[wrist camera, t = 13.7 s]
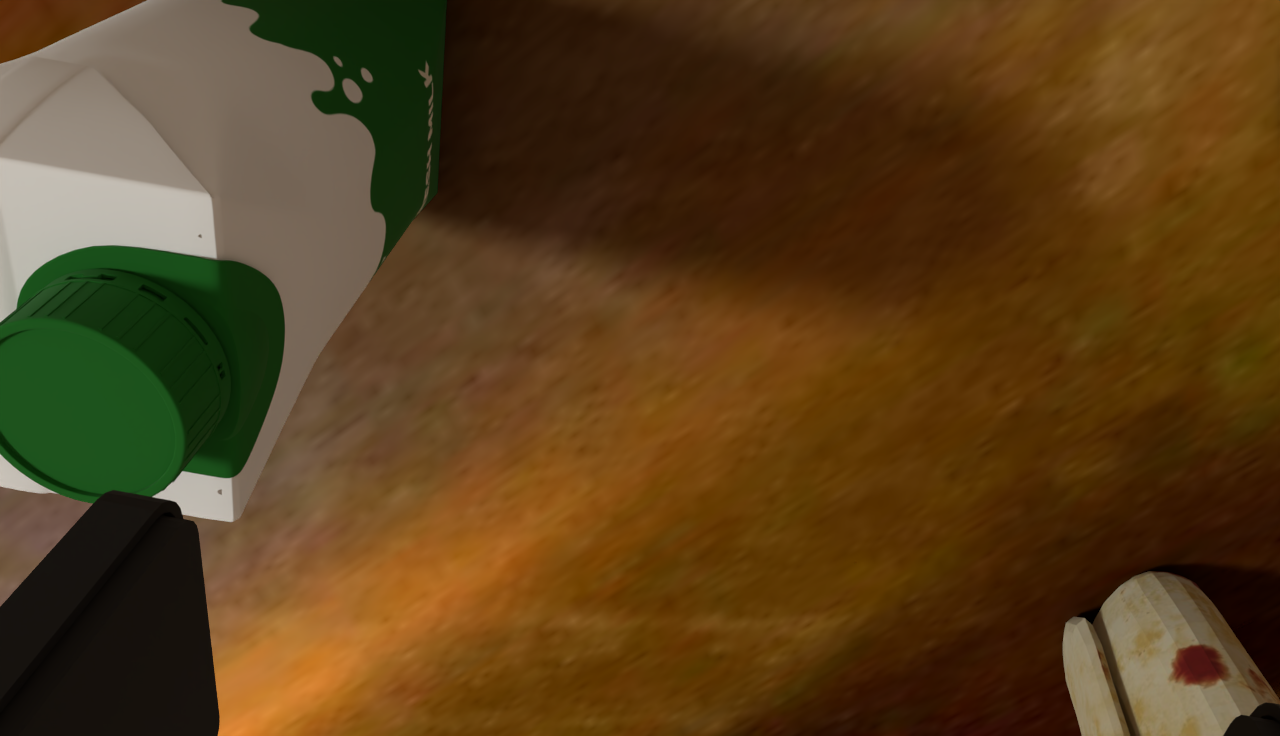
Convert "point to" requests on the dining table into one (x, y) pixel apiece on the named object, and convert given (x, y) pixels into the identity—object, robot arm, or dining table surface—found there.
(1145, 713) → the food model
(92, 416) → the milk carton
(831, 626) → the dining table surface
